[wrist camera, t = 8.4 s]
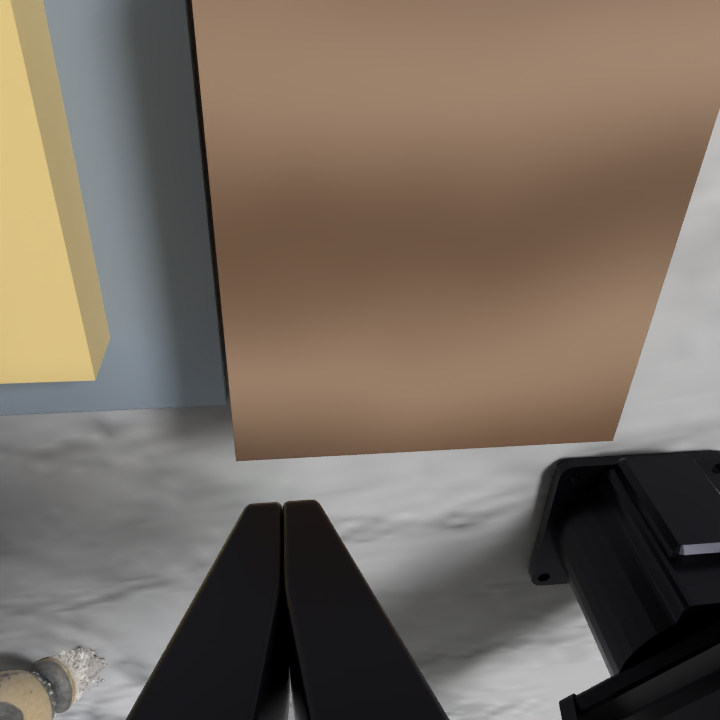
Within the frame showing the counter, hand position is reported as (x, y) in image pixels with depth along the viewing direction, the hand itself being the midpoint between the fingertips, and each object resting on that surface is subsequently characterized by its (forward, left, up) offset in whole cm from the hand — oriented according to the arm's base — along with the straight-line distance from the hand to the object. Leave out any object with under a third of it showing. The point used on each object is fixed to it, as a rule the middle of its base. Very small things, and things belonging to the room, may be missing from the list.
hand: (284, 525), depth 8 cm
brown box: (0, -4, -11) cm, 12 cm away
